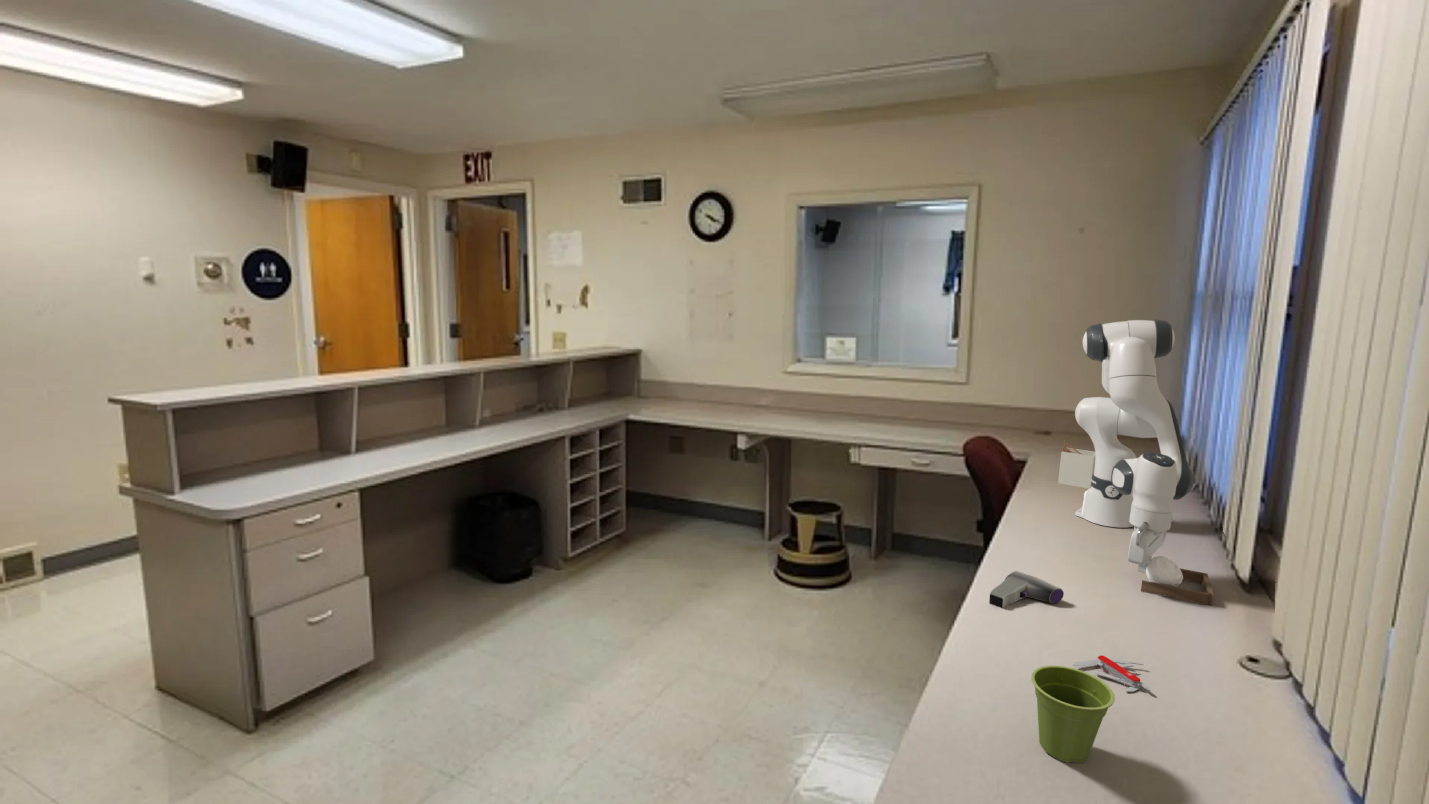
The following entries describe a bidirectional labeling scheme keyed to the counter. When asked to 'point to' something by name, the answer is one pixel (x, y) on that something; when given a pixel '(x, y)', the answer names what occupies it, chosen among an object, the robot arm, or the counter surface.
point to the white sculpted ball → (1164, 571)
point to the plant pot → (1069, 710)
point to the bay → (1183, 593)
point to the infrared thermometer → (1024, 590)
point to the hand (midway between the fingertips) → (1142, 570)
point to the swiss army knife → (1116, 671)
